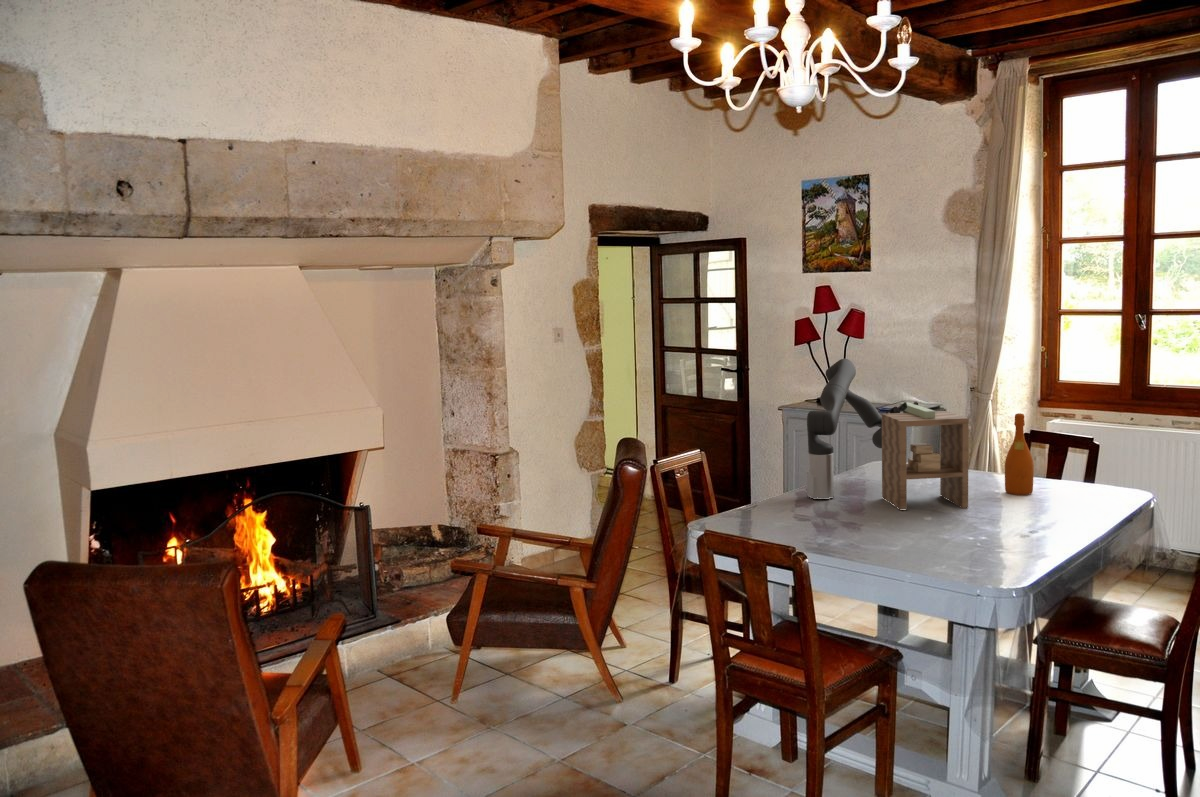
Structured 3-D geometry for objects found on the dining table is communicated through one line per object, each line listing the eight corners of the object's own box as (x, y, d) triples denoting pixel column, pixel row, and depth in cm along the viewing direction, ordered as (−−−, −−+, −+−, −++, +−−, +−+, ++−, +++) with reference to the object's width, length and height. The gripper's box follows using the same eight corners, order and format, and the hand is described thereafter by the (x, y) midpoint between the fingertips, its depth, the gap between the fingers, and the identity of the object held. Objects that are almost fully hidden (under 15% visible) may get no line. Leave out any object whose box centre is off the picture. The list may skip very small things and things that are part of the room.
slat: (899, 409, 361) (899, 402, 361) (908, 408, 361) (908, 402, 361) (925, 418, 335) (925, 411, 335) (935, 417, 336) (935, 410, 335)
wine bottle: (998, 492, 358) (999, 413, 354) (1017, 489, 362) (1018, 411, 358) (1020, 497, 349) (1020, 416, 345) (1039, 493, 353) (1040, 413, 349)
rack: (882, 498, 355) (881, 413, 351) (945, 495, 355) (945, 411, 352) (901, 511, 335) (900, 421, 331) (968, 507, 336) (968, 418, 332)
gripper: (877, 413, 371) (890, 395, 355) (913, 411, 371) (928, 394, 355) (881, 431, 368) (894, 414, 352) (917, 429, 368) (932, 412, 352)
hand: (911, 404), depth 354 cm, fingers closed on slat, 3 cm apart
